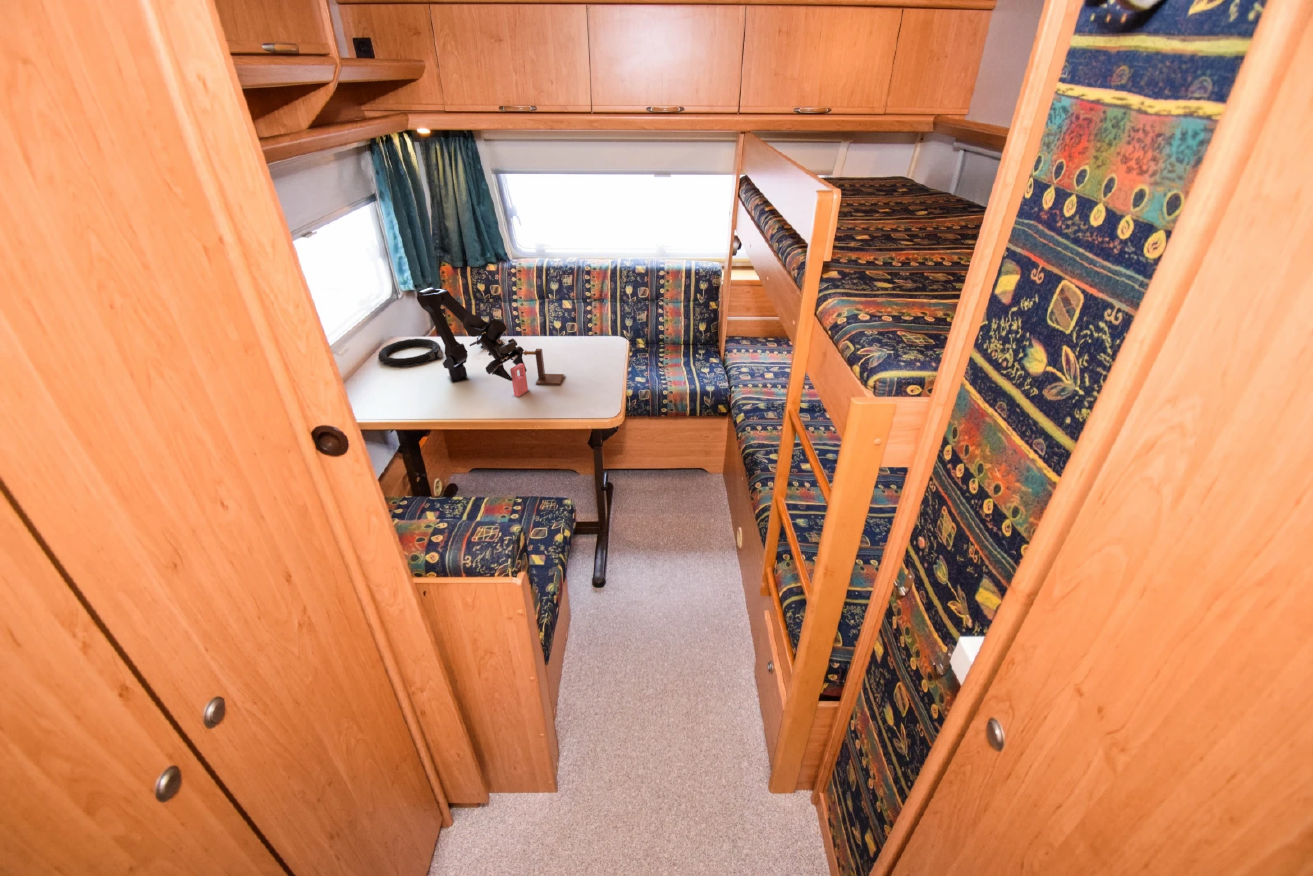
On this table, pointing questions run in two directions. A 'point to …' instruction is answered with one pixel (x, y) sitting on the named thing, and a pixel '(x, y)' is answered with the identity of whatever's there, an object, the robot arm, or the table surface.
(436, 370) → the table surface
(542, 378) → the stand
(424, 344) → the ring
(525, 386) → the pink tunnel block
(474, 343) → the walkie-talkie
